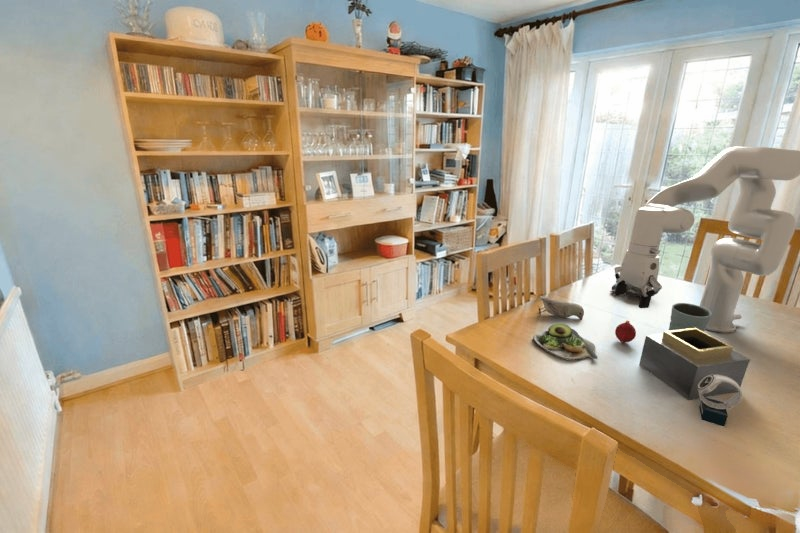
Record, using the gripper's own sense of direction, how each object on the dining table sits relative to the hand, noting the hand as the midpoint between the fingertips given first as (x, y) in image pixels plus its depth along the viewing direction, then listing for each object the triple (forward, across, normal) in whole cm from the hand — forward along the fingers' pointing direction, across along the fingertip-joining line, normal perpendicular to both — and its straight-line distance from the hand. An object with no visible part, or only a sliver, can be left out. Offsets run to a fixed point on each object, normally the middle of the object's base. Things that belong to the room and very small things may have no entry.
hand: (631, 301), depth 118 cm
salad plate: (+16, +3, +19) cm, 25 cm away
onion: (+15, 0, -1) cm, 15 cm away
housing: (+15, -20, -4) cm, 25 cm away
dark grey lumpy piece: (+15, +34, -32) cm, 49 cm away
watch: (+15, -34, +4) cm, 37 cm away
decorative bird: (+16, +22, +8) cm, 28 cm away
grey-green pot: (+15, -4, -20) cm, 25 cm away
